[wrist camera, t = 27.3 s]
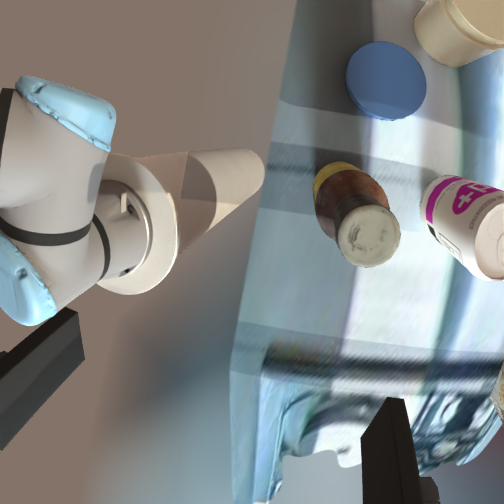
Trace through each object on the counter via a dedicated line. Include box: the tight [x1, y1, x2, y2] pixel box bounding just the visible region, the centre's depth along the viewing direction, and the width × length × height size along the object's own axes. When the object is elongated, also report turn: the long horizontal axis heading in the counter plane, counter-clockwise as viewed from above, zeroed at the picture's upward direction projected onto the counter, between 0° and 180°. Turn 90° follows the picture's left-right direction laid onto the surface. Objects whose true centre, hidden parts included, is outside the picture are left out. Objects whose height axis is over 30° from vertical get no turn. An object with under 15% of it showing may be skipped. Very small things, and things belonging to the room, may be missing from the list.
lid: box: [345, 42, 426, 121], centre depth 30 cm, size 10×10×2 cm
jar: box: [414, 0, 504, 67], centre depth 21 cm, size 9×9×12 cm
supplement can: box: [420, 175, 504, 281], centre depth 27 cm, size 8×8×15 cm
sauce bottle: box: [313, 162, 401, 268], centre depth 27 cm, size 6×6×20 cm
